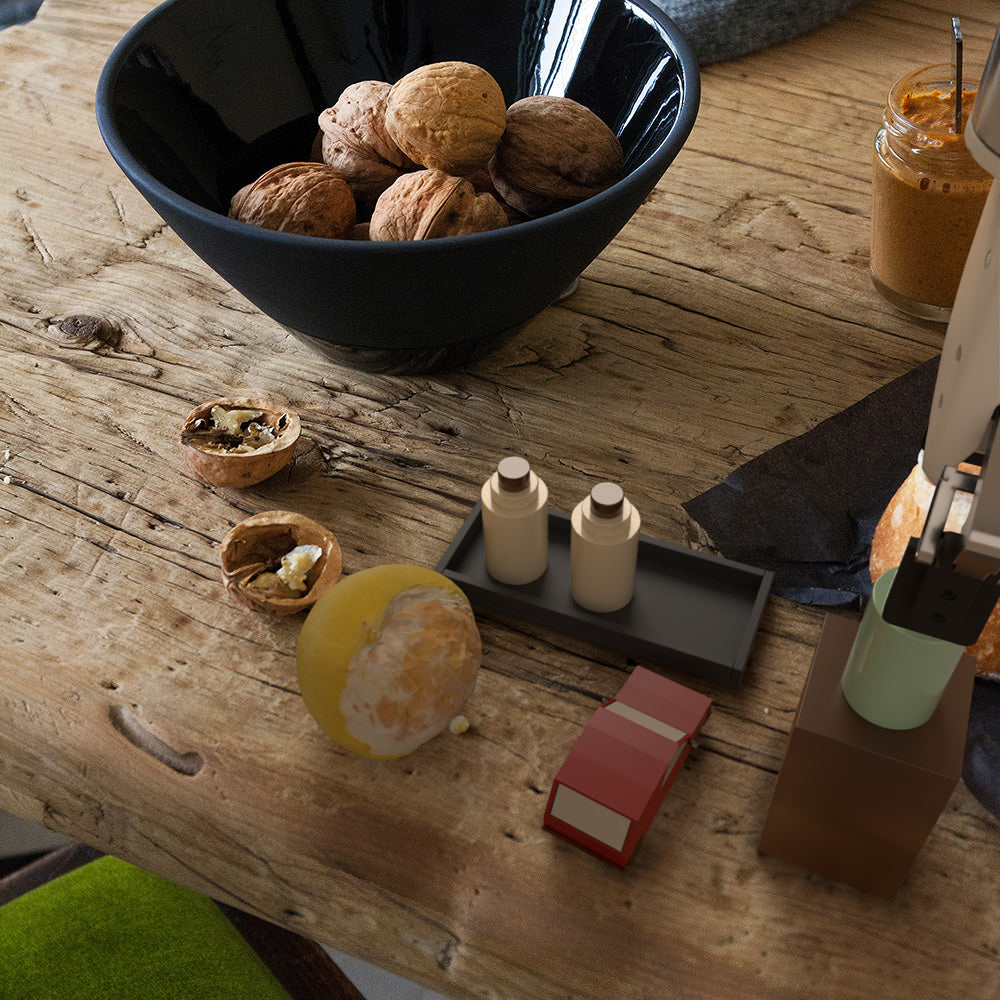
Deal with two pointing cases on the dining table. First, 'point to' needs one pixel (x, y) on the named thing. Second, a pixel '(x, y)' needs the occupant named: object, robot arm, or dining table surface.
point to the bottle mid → (604, 549)
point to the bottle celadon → (896, 667)
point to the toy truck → (625, 767)
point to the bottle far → (515, 523)
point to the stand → (862, 776)
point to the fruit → (388, 659)
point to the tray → (631, 601)
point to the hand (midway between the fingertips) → (944, 536)
